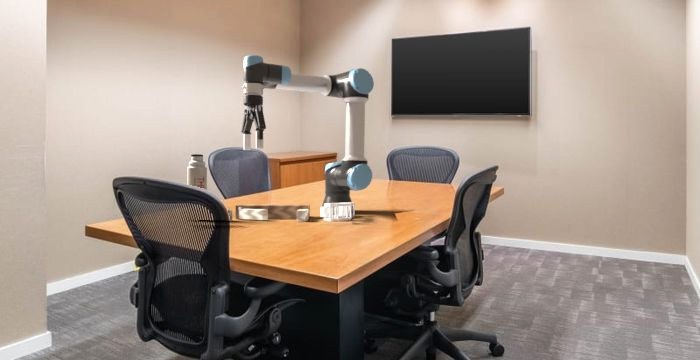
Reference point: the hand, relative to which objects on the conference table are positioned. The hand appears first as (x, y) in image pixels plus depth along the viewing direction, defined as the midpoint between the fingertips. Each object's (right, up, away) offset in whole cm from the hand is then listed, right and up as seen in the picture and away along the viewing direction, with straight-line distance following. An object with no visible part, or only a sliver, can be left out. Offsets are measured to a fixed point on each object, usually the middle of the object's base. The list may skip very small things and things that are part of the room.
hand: (253, 149), depth 202 cm
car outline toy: (+34, -30, +21) cm, 50 cm away
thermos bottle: (-26, -29, +14) cm, 42 cm away
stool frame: (+2, -29, +18) cm, 35 cm away
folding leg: (-4, -29, +17) cm, 34 cm away
